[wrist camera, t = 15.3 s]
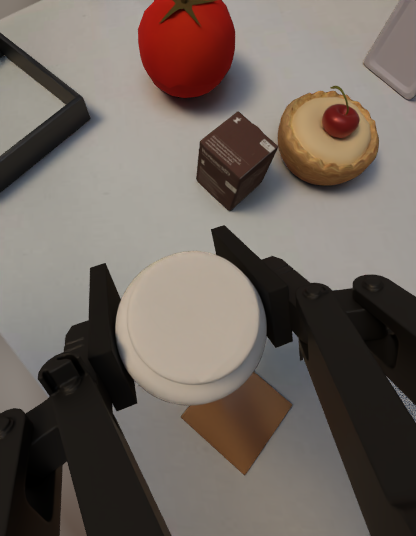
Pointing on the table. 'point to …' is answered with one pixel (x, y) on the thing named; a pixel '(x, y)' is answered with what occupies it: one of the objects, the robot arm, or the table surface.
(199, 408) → the coaster
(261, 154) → the box
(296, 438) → the table surface
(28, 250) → the table surface
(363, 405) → the robot arm
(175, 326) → the supplement bottle
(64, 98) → the dark grey square frame
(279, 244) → the table surface
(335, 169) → the pastry
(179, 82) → the tomato
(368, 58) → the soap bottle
